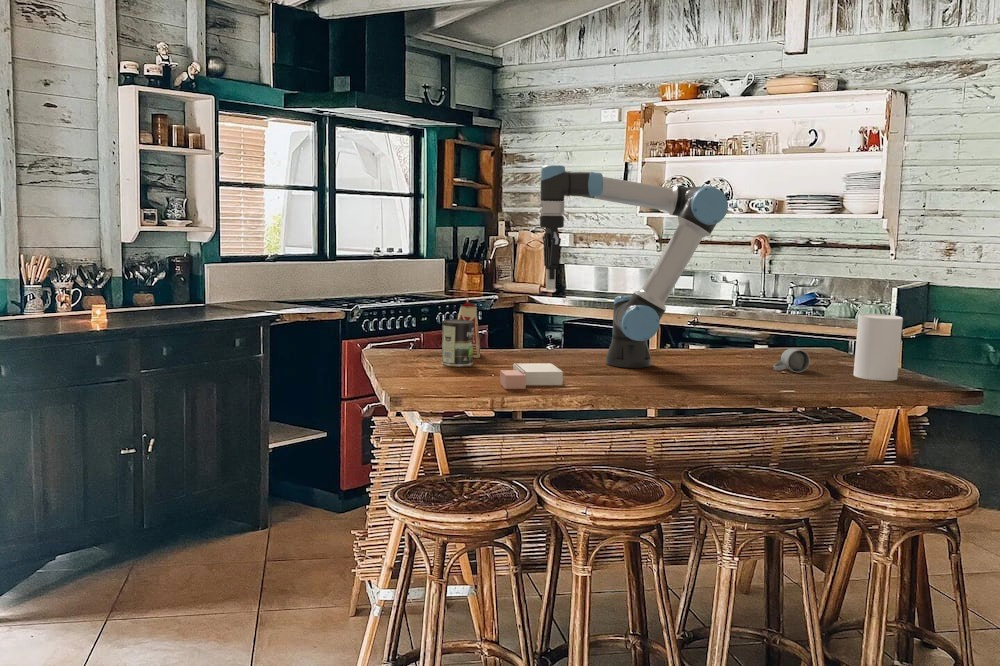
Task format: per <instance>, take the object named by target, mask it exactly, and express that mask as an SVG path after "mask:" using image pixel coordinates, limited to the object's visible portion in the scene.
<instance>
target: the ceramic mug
mask: <svg viewBox="0 0 1000 666" xmlns="http://www.w3.org/2000/svg"><path fill="white" fill-rule="evenodd" d="M810 362H811V360H810V355H809V354H808V353H807V352H806V351H805V350H803V349H799V348H795V347H793V348H792V347H791V348H788V349H785V350H784V351H783V352H782V354H781V356H780V361H778V362H776V363H774V364H773V365H772V366H773V369H774V371H776V372H777V371H783V370H786V369H787V370H789V371H790V372H793V373H796V374H799V373H804V372H805V371H806V370H807V369H808V368H809V367H810Z"/></svg>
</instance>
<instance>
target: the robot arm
mask: <svg viewBox="0 0 1000 666" xmlns="http://www.w3.org/2000/svg"><path fill="white" fill-rule="evenodd" d="M540 171H541V172H540V203H539V204H538V207H539V208H540V211H539V212H540V214H542V215H540V216H539V226H540V228H542V229H543V228H545V233H543V236H542V242H543V243H542V244H543V265H544V267H545V290H547V291H553V290H554V291H555V290H556V277H557V276H556V270H557V269H558V267H559V257H560V249H561V241H562V238H560V233H559V230H558V229H559V228H560V229H561V228H562V229H563V228H564V226H565V224H564V223H565V217H564V214H565V197H581V198H587V199H595V200H599V201H600V200H601V201H606V202H611V203H619V204H623V205H628V206H633V207H634V206H636V207H642V208H647V209H652V210H659V211H664V212H665V211H666V212H668V215H671V216H674V217H675V216H676V217H677V221H678V226H677V227H676V229H675V231H674V233H673V234H672V236H671V238H670V240H669V241H668V243H667V245H665V248H664V250H663V251H662V253H661V255H660V257H659V259H658V260H657V261H656V263H655V265H654V266H653V268H652V269H651V272H650V274H649V275H648V277H647V279H646V280H645V282H644V284H643V286H642V287H641V289H640V290H639V289H638V290H637V291H634V292H633V293H632V295H628V296H626V295H619V296H616V297H614V300H613V306H612V307H613V313H612V314H613V315H612V316H613V318H612V333H611V334H612V338H611V343H610V345H609V348H608V350H607V353H606V355H605V364H606V365H607V366H608V365H609V366H612V367H618V368H629V369H630V368H631V369H633V368H634V369H640V368H641V369H642V368H648V367H651V366H652V357H651V354H650V349H649V345H648V340H650V339H652V338H654V336H655V335H656V334H657V333H658V331H659V328H660V324H661V319H662V317H663V316H664V314H665V312H666V311H667V309H666V306H665V305H666V304H665V303H666V302H667V299H668V297H669V296H670V295H671V293H672V291H673V289H674V288H675V287H676V286H675V285H676V284H677V283H678V280H679V279H680V278H681V276H682V275H683V272H684V270H685V269H686V267H687V265H688V264H689V262H690V260H691V259H692V257H693V256H694V254H695V252H696V250H697V248H698V247H699V245H700V243H701V241H702V240H703V238H705V237H708V236H711V234H712V232H713V231H714V229H715V227H716V226H717V224H718V223H720V222H721V221H723V219H724V218H725V217H726V216H727V213H728V210H729V202H728V199H727V196H726V195H725V193H724V192H723V191H722V190H721V189H720V188H717V187H714V186H712V185H704V186H691V187H690V186H689V187H688V186H685V187H684V186H678V185H674V186H673V187H672V188H671V187H665V186H659V185H653V184H649V183H643V182H637V181H631V180H624V179H618V178H613V177H608V176H603V174H602V173H601V172H594V171H586V172H585V171H584V172H583V171H582V172H581V171H576V172H575V171H572V172H571V171H566V167H565V165H560V164H559V165H558V164H557V165H551V164H549V165H547V164H546V165H543V166H541V170H540Z"/></svg>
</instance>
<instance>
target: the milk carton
mask: <svg viewBox="0 0 1000 666" xmlns="http://www.w3.org/2000/svg"><path fill="white" fill-rule="evenodd" d="M469 299H470V298H466V302H465V303H463V304H462V305H461V306H460V308H459V312H458V316H457V319H458V320H470V321H473V322H474V327H473V358H476V359H479V358H480V356H481V346H480V345H481V342H480V341H481V340H480V332H479V322H478V311H477V308H478V307H477V305H474V304H473V303H470V302H469Z"/></svg>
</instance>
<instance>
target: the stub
mask: <svg viewBox="0 0 1000 666" xmlns="http://www.w3.org/2000/svg"><path fill="white" fill-rule="evenodd" d="M499 385H501V386H502V388H503V389H505V390H526V389H527V387H526V386H527V385H526V375H525V374H524V373H523V372H522V371H520V370H513V369H510V370H509V369H508V370H507V369H506V370H505V369H503V370H502V369H501V370H499Z"/></svg>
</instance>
